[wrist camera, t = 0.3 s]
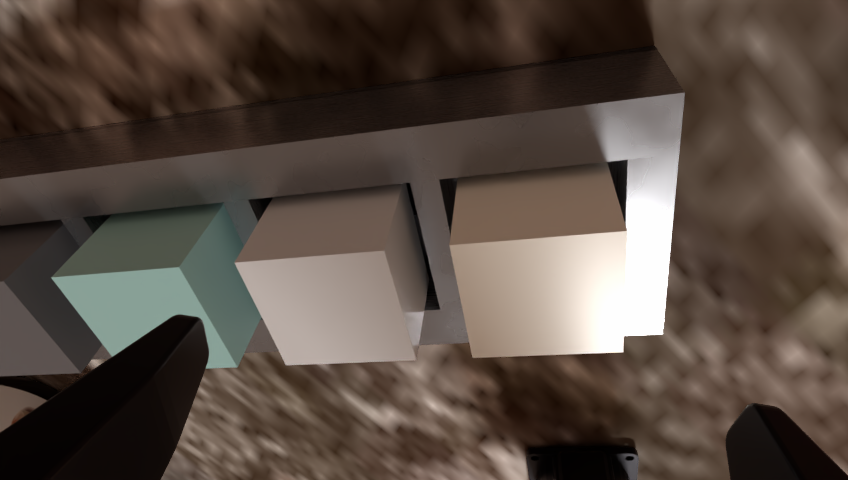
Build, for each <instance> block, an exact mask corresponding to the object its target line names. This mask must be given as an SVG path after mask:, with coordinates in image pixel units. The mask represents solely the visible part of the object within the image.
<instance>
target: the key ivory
mask: <svg viewBox="0 0 848 480" xmlns="http://www.w3.org/2000/svg"><path fill="white" fill-rule="evenodd" d="M449 246H450V251H451V256H452V261H453V265H454V270H455V275H456V280H457V285H458V290H459V295H460V300H461V305H462V309H463V314H464V319H465V324H466V329H467V334H468V339H469V344H470V348H471V353H472V358H487V357H513V356H538V355H564V354H590V353H616V352H623V345H624V315H625V285H626V255H627V228H626V225H625V221H624V218H623V215H622V211H621V208H620V204H619V201H618V198H617V194H616V191H615V187H614V184H613V181H612V177H611V174H610V170H609V167H608V164H607V162H600V163H590V164H581V165H571V166H562V167H553V168H543V169H534V170H524V171H515V172H505V173H496V174H486V175H477V176H467V177H458V180H457V188H456V196H455V204H454V212H453V220H452V228H451V236H450V244H449Z"/></svg>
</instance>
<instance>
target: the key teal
mask: <svg viewBox="0 0 848 480" xmlns="http://www.w3.org/2000/svg"><path fill="white" fill-rule="evenodd" d="M243 247H244V245H243V243H242V241H241V239H240V237H239V235H238V233H237V230H236V228H235V226H234V224H233V222H232V220H231V218H230V216H229V214H228V212H227V210H226V208H225V206H224V203H223V202H221V203H211V204H202V205H193V206H183V207H174V208H164V209H155V210H145V211H136V212H126V213H117V214H112V215H111V216H110V217H109V218H108V219H107V220H106V221H105V222H104V223H103V224H102V225H101V226H100V227H99V228H98V229H97V230H96V231H95V232H94V234H93V235H92V236H91V237H90V238H89V239H88V240H87V241H86V242H85V243H84V244H83V245H82V246H81V247H80V248H79V249H78V250H77V251H76V252H75V253H74V254H73V255H72V256H71V257H70V258H69V259H68V260H67V261H66V262H65V263H64V265H63V266H62V267H61V268H60V269H59V270H58V271H57V272H56V273H55V274H54V275H53V276H52V277H51V278H52V280H53V281H54V282H55V283H56V285H57V286H58V287H59V289H60V290H61V291H62V292H63V294H64V295H65V296H66V298H67V299H68V300H69V302H70V303H71V304H72V305H73V307H74V308H75V309H76V311H77V312H78V313H79V314H80V316H81V317H82V318H83V320H84V321H85V322H86V324H87V325H88V326H89V327H90V329H91V330H92V331H93V333H94V334H95V335H96V336H97V338H98V339H99V340H100V342H101V343H102V344H103V345H104V347H105V348H106V349H107V351H108V352H109V353H110V355H111V356H112V357H113V356H114V355H116V354H117V353H119V352H120V351H122V350H123V349H124V348H126V347H127V346H129V345H130V344H132V343H133V342H135V341H136V340H138V339H139V338H141V337H142V336H144V335H145V334H147V333H148V332H150V331H151V330H153V329H154V328H156V327H157V326H159V325H160V324H162V323H163V322H165V321H166V320H168V319H169V318H170V317H172V316H174V315H178V314H182V315H188V316H195V317H199V318H200V319H201V320H202V321H203V324H204V328H205V332H206V337H207V342H208V347H209V359H208V363H207V366H206V368H228V367H238V365H239V363H240V361H241V359H242V357H243V355H244V352H245V350H246V348H247V346H248V344H249V342H250V340H251V338H252V336H253V334H254V331H255V329H256V327H257V325H258V323H259V321H260V319H261V315H260V313H259V311H258V309H257V307H256V305H255V303H254V301H253V299H252V297H251V295H250V293H249V291H248V289H247V287H246V285H245V283H244V281H243V279H242V277H241V275H240V273H239V271H238V269H237V267H236V265H235V263H234V262H235V261H236V259H237V257H238V256H239V254H240V252H241V251H242V249H243Z"/></svg>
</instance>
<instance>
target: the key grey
mask: <svg viewBox="0 0 848 480" xmlns="http://www.w3.org/2000/svg"><path fill="white" fill-rule="evenodd" d="M234 263H235V265H236V267H237V269H238V271H239V273H240V275H241V277H242V279H243V281H244V283H245V285H246V287H247V289H248V291H249V293H250V295H251V297H252V299H253V301H254V303H255V305H256V307H257V309H258V311H259V313H260V315H261V317H262V319H263V321H264V322H265V324H266V326H267V328H268V330H269V332H270V334H271V336H272V338H273V340H274V342H275V344H276V346H277V348H278V350H279V352H280V354H281V356H282V358H283V360H284V362H285V364H286V365H306V364H332V363H357V362H383V361H409V360H417V354H418V348H419V341H420V335H421V329H422V322H423V316H424V310H425V303H426V297H427V291H428V284H429V277H428V273H427V269H426V264H425V260H424V256H423V252H422V248H421V244H420V240H419V236H418V232H417V227H416V223H415V219H414V215H413V211H412V207H411V203H410V199H409V195H408V190H407V186H406V183H401V184H391V185H382V186H373V187H363V188H354V189H344V190H335V191H325V192H316V193H306V194H297V195H287V196H278V197H273V198H272V200H271V202H270V203H269V205H268V207H267V208H266V210H265V212H264V214H263V215H262V217H261V219H260V220H259V222H258V224H257V225H256V227H255V229H254V230H253V232H252V234H251V235H250V237H249V239H248V240H247V242H246V244H245V246H244V247H243V249H242V251H241V252H240V254H239V256H238V257H237V259H236V261H235V262H234Z"/></svg>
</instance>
